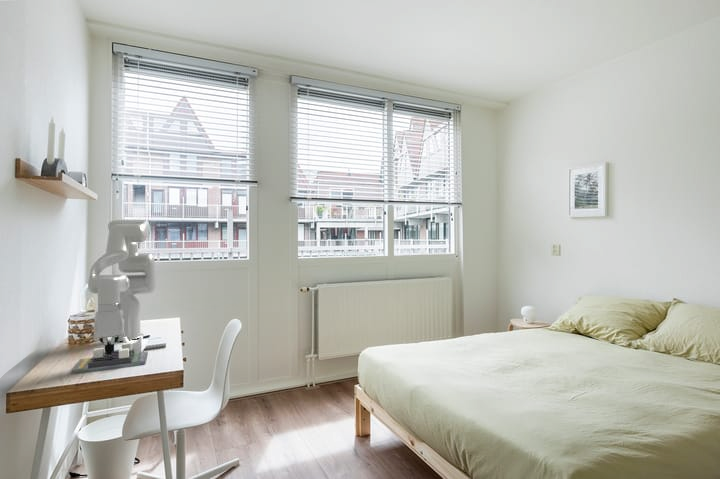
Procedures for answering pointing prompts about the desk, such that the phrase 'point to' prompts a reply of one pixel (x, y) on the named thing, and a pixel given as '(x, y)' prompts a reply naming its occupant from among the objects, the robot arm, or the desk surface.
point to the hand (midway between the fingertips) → (109, 353)
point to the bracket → (137, 343)
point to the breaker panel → (110, 362)
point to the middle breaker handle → (98, 353)
